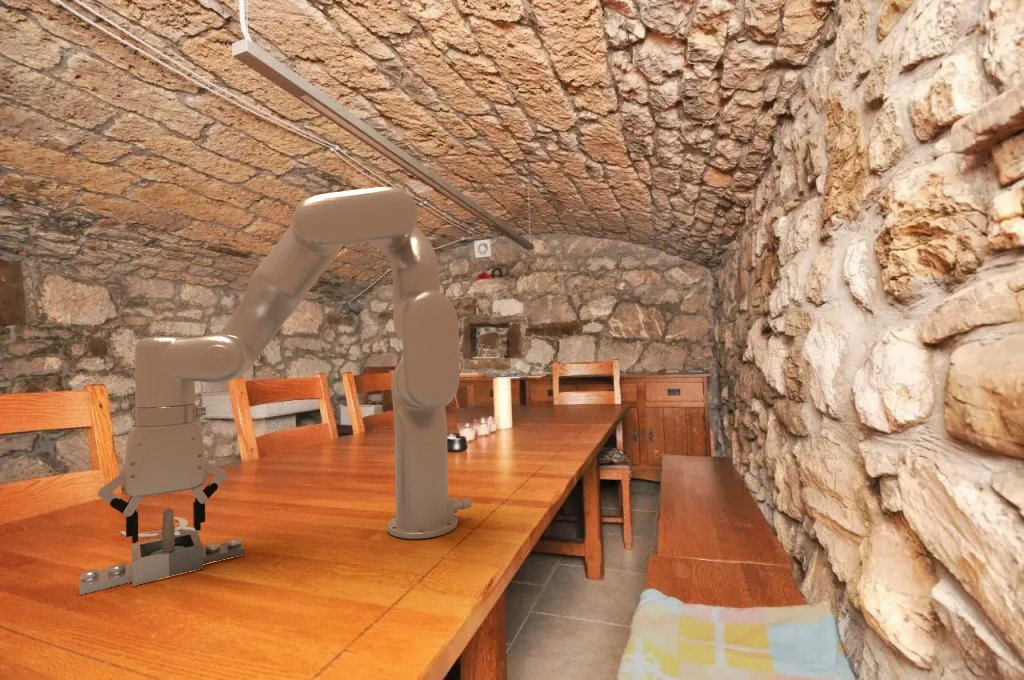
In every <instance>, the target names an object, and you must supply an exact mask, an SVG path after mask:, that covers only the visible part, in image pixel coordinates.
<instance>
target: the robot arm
mask: <svg viewBox="0 0 1024 680" xmlns="http://www.w3.org/2000/svg"><path fill="white" fill-rule="evenodd" d="M292 216H293V217H292V224H291V225H290V226H289V227H288V229H287V230H286V231H285V232H284V234H283V235H282V236H281V237H280V239H279V240H278V242H277V243H276V244H275V245H274V247H272V249H271V250H270V251H269V252H268V254H267V255H266V257H264V259H263V260H262V261H261V263H259V264H258V266H257V267H256V269H255V270H254V271H253V273H252V275H251V276H250V278H249V281H248V283H247V288H246V291H245V294H244V296H243V299H242V300H241V302H240V304H239V305H238V307H237V309H236V310H235V312H234V313H233V314H232V316H231V317H230V318H229V320H228V321H227V322H226V323H225V324H224V326H223V327H222V328H221V329H220V331H219V333H218V334H211V335H204V336H197V337H180V336H151V337H145V338H144V337H143V338H141V339H139V340H137V342H136V344H135V350H134V360H135V361H134V362H135V365H134V367H135V369H134V371H135V373H134V376H135V377H134V378H135V379H134V381H135V382H134V384H135V393H134V394H135V427H133V428H130V429H129V431H128V435H127V440H126V445H125V456H124V458H125V459H124V470H123V471H122V472H121V473H119V474H117V475H116V476H115V477H114V478H112V479H111V480H110V481H109V482H107V483H106V484H105V485H103V486H102V487H101V488H100V489H98V491H97V496H98V497H99V498H101V500H103V501H104V502H105V503H107V504H108V505H110V507H111V508H112V509H115V510H116V511H118V512H119V513H120V514H122V515H123V516H124V517H125V532H126V537H125V538H128V537H131V536H132V538H131V545H132V544H136V543H139V538H138V534H139V512H138V511H137V508H138V506H139V504H141V501H142V500H143V498H145V497H152V496H158V495H165V494H171V493H177V492H183V491H191V493H192V494H193V496H194V497H195V498H194V501H193V502H192V512H193V513H192V519H193V520H192V521H193V522H192V526H193V528H194V529H195V530H198V531H201V528H202V525H201V524H203V523H206V503H207V502H208V500H209V499H210V498H211V497H212V496H213V495H214V494H215V493H216V491H217V490H218V489H219V487H220V486H221V485H222V484H223V482H224V481H225V480H226V479H227V477H228V473H227V471H225V470H223V469H222V468H220V467H218V466H216V465H215V464H213V463H211V462H209V461H208V460H206V452H205V444H204V438H203V437H204V436H203V431H202V430H203V429H202V427H201V423H200V422H196V421H197V419H198V417H199V418H200V417H201V416H206V415H207V409H206V408H207V407H206V406H203V407H201V406H198V405H196V403H195V402H196V399H195V398H196V393H195V392H196V389H195V385H196V383H195V382H199V383H200V382H203V383H212V384H213V383H214V384H215V383H216V384H220V383H221V384H223V383H228V382H231V381H234V380H237V379H239V378H241V377H243V376H244V375H245V374H246V373H247V372H248V371H249V370H250V369H251V367H252V366H253V365H254V363H256V361H257V360H258V358H259V357H260V356H261V354H263V352H264V350H265V349H266V348H267V346H268V345H269V344H270V342H271V341H272V339H273V338H274V337H275V336H276V334H277V333H278V332H279V330H280V329H281V328H282V326H283V325H284V324H285V323H286V321H287V320H288V319H289V318H290V317H291V316H292V314H293V313H294V312H295V311H296V310H297V308H298V306H299V305H300V304H301V302H302V301H303V300H304V299H305V297H306V295H307V294H308V293H309V292H310V290H311V289H312V288H313V286H314V285H315V284H316V283H317V281H318V280H319V278H320V277H321V276H322V274H323V273H324V272H325V270H326V269H328V267H329V265H330V264H331V263H332V261H333V260H334V259H335V257H336V256H337V255H338V253H339V252H340V251H341V249H342V248H343V247H344V245H351V244H358V243H365V242H368V243H369V244H370V245H371V246H373V247H375V249H378V250H379V251H381V252H382V253H383V255H385V256H386V258H387V259H388V261H389V264H390V268H391V272H392V273H391V274H392V284H393V285H392V286H393V289H392V290H393V319H392V321H393V323H392V324H393V328H394V332H395V334H396V336H397V337H398V339H399V340H400V341H402V354H403V355H402V358H403V359H402V360H400V362H399V363H397V365H396V366H395V368H394V370H393V372H392V376H391V383H390V384H391V385H390V389H391V399H392V400H391V401H392V409H393V410H392V411H393V424H394V427H393V428H394V477H395V479H394V481H395V482H394V483H395V490H394V491H395V517H393V518H391V519H390V520H388V522H387V526H386V527H387V528H386V529H387V532H388V533H389V534H390V535H391V536H393V537H396V538H400V539H409V540H410V539H411V540H419V539H420V540H422V539H429V538H434V537H436V538H437V537H439V536H442V535H446V534H448V533H451V532H452V531H454V530H455V529H456V527H457V526H458V517H457V516H456V513H458V511H459V510H466V509H470V508H472V499H471V498H470V497H465V498H461V499H459V498H458V497H453V498H452V497H449V470H448V468H449V466H448V465H449V463H448V461H449V459H448V457H449V456H448V424H447V421H448V420H447V412H446V406H447V405H449V404H451V402H452V401H453V400H454V398H455V397H456V395H457V392H458V390H459V386H460V380H461V375H460V374H461V365H460V364H461V363H460V362H461V361H460V337H459V336H460V335H459V333H460V331H459V320H458V319H459V318H458V314H457V312H456V308H455V307H454V304H453V303H452V301H451V300H450V299H449V298H448V296H446V295H445V294H443V293H441V284H440V272H439V263H438V258H437V255H436V252H435V249H434V247H433V245H432V243H431V242H430V240H429V239H428V238H427V236H426V235H425V234H424V233H423V232H422V231H421V229H420V228H418V227H417V222H418V216H419V210H418V207H417V204H416V202H415V200H414V198H413V197H412V196H411V195H410V194H409V193H407V192H406V191H405V190H403V189H401V188H398V187H394V186H378V187H377V186H376V187H370V188H369V187H367V188H361V189H352V190H342V191H336V192H335V191H334V192H329V193H328V192H327V193H321V194H316V195H312V196H308V197H307V198H304V199H303V200H302V201H301V202H299V203H298V204H297V206H296V207H295V209H294V212H293V215H292ZM206 472H207V473H209V474H210V475H212V476H214V477H213V479H212V480H211V481H210V482H209V483H208V484H207V485H206V486H205V487H204V489H203V488H202V486H203V485H204V484H205V482H206V479H207V477H206V476H207V473H206ZM123 484H124V489H125V494H126V495H127V496H128V497H129V498H128V500H127V501H125V500H124V499H123V498H121V497H120V496H118V495H116V493H115V490H117V489H118V488H119V487H121V486H122V485H123Z"/></svg>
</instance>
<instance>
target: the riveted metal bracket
mask: <svg viewBox="0 0 1024 680" xmlns="http://www.w3.org/2000/svg"><path fill="white" fill-rule="evenodd" d="M174 538H175V540H174V542H175V544H174V546H183V547H185V548H183V549H178V550H174V551H169V552H164V553H160V554H155V555H151V554H152V553H153V552H155V551H158V550H160V549H162V548H161V547H162V537H161V538H157V539H156V538H155V539H152V540H146V541H142V542H137V543H133V544H132V543H131V562H130V563H122V562H121V563H115V564H113V565H110V566H109V567H107V568H104V569H98V568H94V569H88V570H85V571H82V572H81V573H80V581H79V588H78V594H79V595H78V596H81V595H86V594H85V593H87V594H90V592H91V593H94V591H95V592H99V591H103V590H107V588H108V589H111V588H110V587H112V588H115V587H114V586H116V585H120V586H122V585H121V584H124V583H128V582H131V581H132V583H131V584H132V585H131V586H134V585H137V584H141V583H146V582H150V581H154V580H157V579H160V578H164V577H167V576H172V575H176V574H180V573H185V572H189V571H194V570H198V569H203V570H204V566H203V564H206V563H209V562H213V561H219V560H223V559H227V558H231V557H236V556H241V555H244V556H245V553H244V552H245V548H244V547H243V545H242V538H238V537H236V538H232V539H229V540H227V541H226V542H221V543H220V542H214V543H213V542H212V543H209V544H206V545H205V546H203V542H202V541H201V538H200V535H199V532H198V533H197V531H196V532H191V533H186V534H181V535H176V536H175V537H174ZM241 557H242V556H241ZM128 584H129V583H128ZM146 584H147V583H146ZM124 585H125V584H124ZM116 587H117V586H116ZM134 587H135V586H134ZM98 590H99V591H98Z"/></svg>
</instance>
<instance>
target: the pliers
mask: <svg viewBox="0 0 1024 680" xmlns="http://www.w3.org/2000/svg"><path fill="white" fill-rule="evenodd" d="M173 518H174V519H176V520H178V521H179V523H175V524H174V526H175V525H178V524H180V525H179V526H177V527H175V529H174V531H175V533H174V535H175V536H176V535H181V534H186V533H191V532H196V531H197V533H198V534H199V530H195V529H194V527H191V526H189V521H188V520H187V519H185V518H183V517H177V516H173ZM187 525H188V527H186V526H187ZM155 532H160V533H155ZM161 532H162V530H154V531H146V532H141V533H138V537H142V538H143V537H156V536H162V533H161ZM120 533H121V534H122V535H125V536H126V531H124V530H122V531H119V534H120ZM150 533H153V534H150ZM121 534H120V535H121ZM122 535H121V536H122ZM131 537H132V536H131Z"/></svg>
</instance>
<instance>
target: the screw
mask: <svg viewBox="0 0 1024 680" xmlns="http://www.w3.org/2000/svg"><path fill="white" fill-rule="evenodd" d="M173 518H174V510H173V509H170V508H166V509H165V510H163V511H162V527H161V531H162V532H161V533H162V537H161V538H162V547H161V548H162V549H160V550H158V551H155V552H153V553H152V554H151V555H155V554H160V553H164V552H169V551H174V550H178V549H183V548H185V547H183V546H174V544H175V542H174V540H175V538H174V537H175V535H174V533H175V531H174V529H175V527H174V525H175V524H174V520H173Z"/></svg>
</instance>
